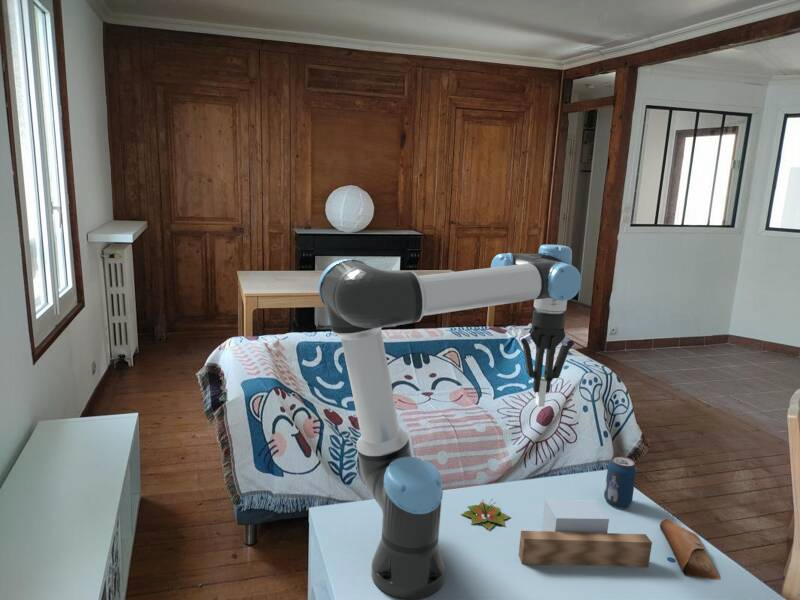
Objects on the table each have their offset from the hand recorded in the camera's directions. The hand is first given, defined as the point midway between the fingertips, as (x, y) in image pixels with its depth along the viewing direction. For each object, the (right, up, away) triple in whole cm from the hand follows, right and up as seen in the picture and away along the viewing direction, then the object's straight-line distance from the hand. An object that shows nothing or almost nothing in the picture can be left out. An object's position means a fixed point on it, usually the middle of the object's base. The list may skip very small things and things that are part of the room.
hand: (539, 404), depth 140 cm
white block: (+6, -31, -8) cm, 32 cm away
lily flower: (-13, -29, +2) cm, 32 cm away
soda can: (+23, -28, +11) cm, 38 cm away
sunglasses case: (+32, -33, -9) cm, 47 cm away
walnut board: (+6, -32, -14) cm, 35 cm away
